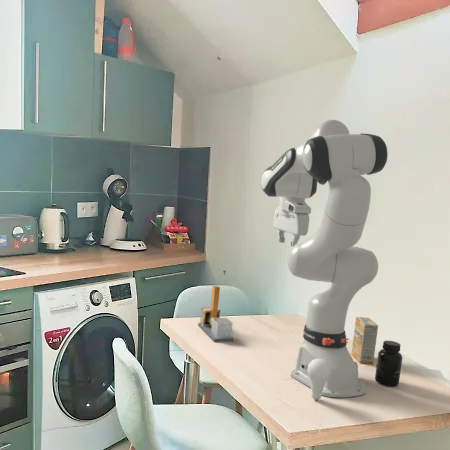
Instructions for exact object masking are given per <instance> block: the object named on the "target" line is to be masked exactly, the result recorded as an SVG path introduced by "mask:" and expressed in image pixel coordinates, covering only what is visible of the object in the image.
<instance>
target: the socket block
mask: <svg viewBox="0 0 450 450" xmlns="http://www.w3.org/2000/svg"><path fill="white" fill-rule="evenodd" d="M210 308H211V306H201V308H200V318H199V323H200V324H201V325H202V326H211V325H210V324H209V323H208V322H207V321H206V315H207V314H208V313H210ZM217 317H218V318H221V309H220V308H219V307H218V313H217Z"/></svg>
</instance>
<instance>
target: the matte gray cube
mask: <svg viewBox="0 0 450 450" xmlns="http://www.w3.org/2000/svg"><path fill="white" fill-rule="evenodd" d="M232 331H233V322H232V320H229V318H227V317H220V318H212V328H211V334H212V335H213V336H214V337H215V338H216V339H229V338H231V337H232V334H233V333H232Z"/></svg>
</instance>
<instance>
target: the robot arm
mask: <svg viewBox="0 0 450 450" xmlns="http://www.w3.org/2000/svg"><path fill="white" fill-rule="evenodd" d="M388 155H389V153H388V146H387V144H386V142H385V141H384V139H383V138H382V137H381V136H379V135H375V134H370V133H360V134H358V133H356V134H355V133H352V134H351V133H350V131H349V129H348V127H347V125H346V124H345V123H344V122H342V121H340V120H337V119H327V120H325V121H324V122H322V123H320V124H319V125H317V127H316V128H315V129H314V130H313V131H312V132H311V134H309V137H308V138H307V139H306V140H305V141H303V142H302V143H301V144H298V145H297V146H295V147H292V148H290V149H287V150H286V151H284V153H283V154H282V155H281V156H280V157H279V158H278V159H277V160H276V161H275V162H274V163H273V164H272V165H270V166H268V167H267V168H266V169H265V170H264V171H263V173H262V176H261V181H260V182H261V184H260V186H261V189H262V191H263V192H264V194H265V195H267V196H268V198H269V197H275V198H276V197H277V198H278V197H279V203H278V206H277V208H276V209H275V210H274V211H275V212H274V215H273V220H272V227H273V228H274V229H277V235H278V242H279V243H281V244H282V243H285V240H286V238H285V233H290V234H292V240H291V241H290V247H291V248H290V251H289V252H288V256H287V266H288V270H289V271H290V272H291V274H292V275H293V276H294V277H298V278H300V279H304V280H307V281H314V282H315V281H316V282H325V283H331V285H330V287H329V288H328V289H327V290H325V291H323V292H319V293H316V294H315V295H314V296H312V297H311V299H310V300H309V301H308V303H307V304H308V306H307V315H306V322H305V325H304V328H303V331H302V332H303V334H302V337H303V341H302V343H301V345H300V346H299V348H298V351H297V355H296V359H295V367H294V369H292V370H291V371H290V376H291V377H292V378H294V379H296V381H297V380H298V382H301V383H302V384H303V385H305V386H307V387H309V388H310V389H311V380H310V378H309V375H308V371H307V369H308V365H309V363H310V362H311V361H312V360H314V359H318V358H320V359H324V360H325V361H327V362H328V363H329V365H330V367H331V375H330V377H329V379H328V380H327V381H326V383H325V385H324V388H323V391H322V395H321V396H325V397H331V398H352V397H353V396H354V397H359V396H362V395H365V394H366V392H367V389H366V387H364V385H362V384H361V382H359V369H358V366H359V364H358V362H357V361H354V359H353V357H352V354H350V351H349V350H348V348H347V343H349V338H347V333H346V330H345V326H346V321H347V320H346V319H347V314H348V310H349V307H350V303H351V302H352V300H353V298H354V297H355V296H356V294H357V293H358V292H359V291H360V290H361V289H362V288H364V287H366V286H367V285H368V284H370V283H372V282H373V281H374V279H375V278H376V276H377V274H378V273H379V261H378V259H377V256H376V255H375V253H374V252H373V251H372V250H368V249H365V248H362V247H358V246H355V245H356V244H357V243H359V241H360V240H361V238H362V234H363V231H364V228H365V225H366V222H367V218H368V214H369V210H370V205H371V196H372V188H371V184H370V182H369V180H367V179H366V178H365V177H364V176H363V175H368V176H370V175H373V174H378V173H379V172H382V170H383V169H384V167H385V166H386V164H387V162H388ZM327 183H328V186H329V193H328V197H327V201H326V205H325V208H324V213H323V215H322V216H323V217H322V220H321V221H320V225H319V227H318V229H317V230H316V231H315V232H314V233H313V234H312V235H311V236H310V237H309V238H307V239H305V240H303V241H301V242H299V241H300V238H301V236H306V235H308V232H309V226H310V215H309V214H311V213H312V208H311V207H310V205H309V204H307V202H306V199H310V198H312V197H313V196H314V195H315V194H316V193H317V189H318V184H319V185H322V186H324V185H326V184H327Z"/></svg>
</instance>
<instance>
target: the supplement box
mask: <svg viewBox="0 0 450 450" xmlns="http://www.w3.org/2000/svg"><path fill="white" fill-rule="evenodd" d="M354 323H355V324H354V332H353V337H352V338H353V339H352V345H351V346H352V347H351V356H353V357H354V358H355V359H356V360H357V361H358V363H359V364H369V365H372V364H373V365H374V360H375V352H376V344H377V337H378V330H379V325H378V323H376V322H374V321H373V320H372V319H371V318H370V317H362V316H356V317H355V322H354Z"/></svg>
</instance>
